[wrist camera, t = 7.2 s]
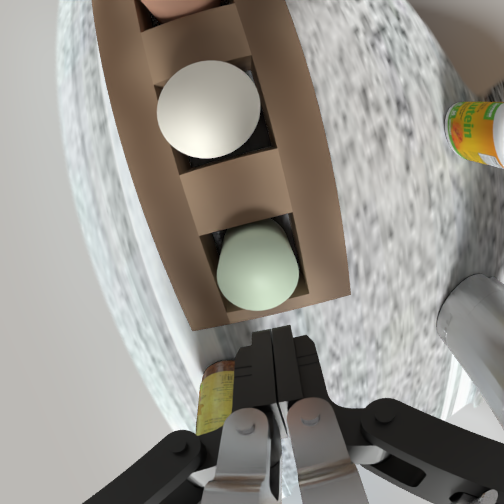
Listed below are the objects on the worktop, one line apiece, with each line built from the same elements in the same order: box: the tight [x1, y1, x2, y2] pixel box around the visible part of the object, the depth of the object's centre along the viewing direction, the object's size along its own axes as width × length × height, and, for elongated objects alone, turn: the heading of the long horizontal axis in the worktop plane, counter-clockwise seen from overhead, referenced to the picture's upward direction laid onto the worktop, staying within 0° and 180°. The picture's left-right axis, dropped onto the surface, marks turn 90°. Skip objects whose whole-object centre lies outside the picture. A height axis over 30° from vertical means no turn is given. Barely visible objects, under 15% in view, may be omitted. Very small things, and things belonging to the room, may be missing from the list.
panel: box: [92, 0, 351, 331], centre depth 17 cm, size 12×28×4 cm, turn 15°
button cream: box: [157, 61, 260, 158], centre depth 14 cm, size 5×5×5 cm
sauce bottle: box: [196, 360, 235, 436], centre depth 19 cm, size 6×6×20 cm
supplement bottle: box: [445, 102, 504, 169], centre depth 14 cm, size 5×5×10 cm
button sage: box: [217, 218, 299, 311], centre depth 20 cm, size 5×5×5 cm
